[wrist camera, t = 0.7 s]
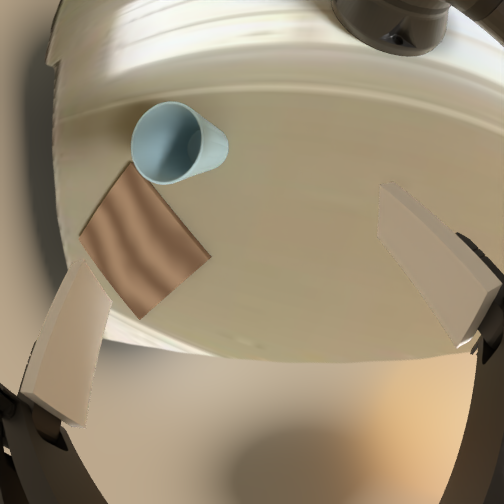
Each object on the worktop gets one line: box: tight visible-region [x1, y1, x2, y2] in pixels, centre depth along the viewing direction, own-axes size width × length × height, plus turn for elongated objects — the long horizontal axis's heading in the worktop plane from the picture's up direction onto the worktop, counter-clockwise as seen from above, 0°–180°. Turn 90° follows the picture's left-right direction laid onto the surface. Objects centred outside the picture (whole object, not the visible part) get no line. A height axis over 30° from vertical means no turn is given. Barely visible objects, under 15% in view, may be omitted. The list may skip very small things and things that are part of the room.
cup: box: [131, 101, 228, 185], centre depth 27 cm, size 8×8×10 cm
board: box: [79, 163, 211, 320], centre depth 38 cm, size 17×17×1 cm
